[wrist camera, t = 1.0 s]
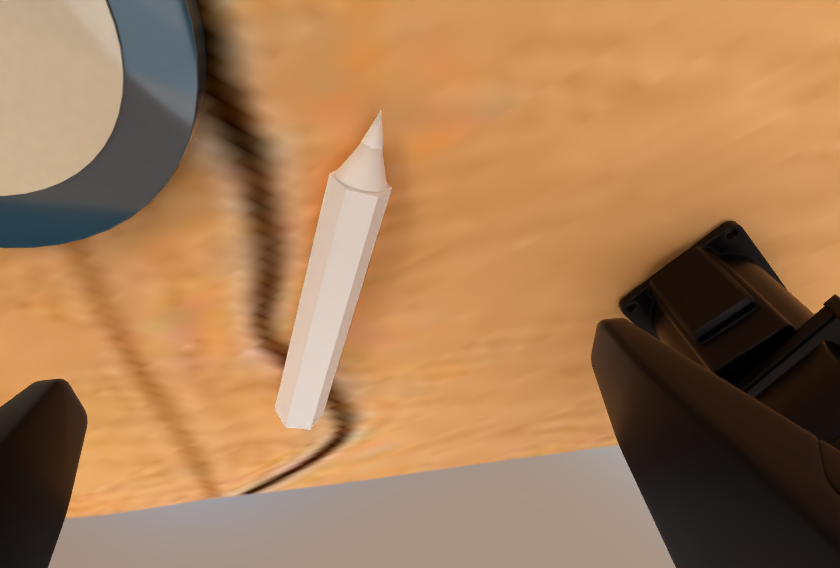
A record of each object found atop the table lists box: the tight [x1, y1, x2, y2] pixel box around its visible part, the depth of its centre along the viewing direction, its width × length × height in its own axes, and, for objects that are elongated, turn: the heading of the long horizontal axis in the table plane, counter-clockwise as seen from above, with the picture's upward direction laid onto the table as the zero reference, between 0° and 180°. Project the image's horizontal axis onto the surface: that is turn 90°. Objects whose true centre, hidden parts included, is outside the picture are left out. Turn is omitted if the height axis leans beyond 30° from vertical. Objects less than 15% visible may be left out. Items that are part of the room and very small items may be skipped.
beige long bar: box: [275, 109, 392, 430], centre depth 23 cm, size 3×2×16 cm
